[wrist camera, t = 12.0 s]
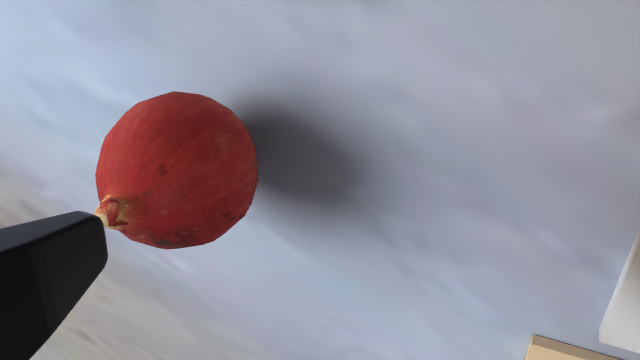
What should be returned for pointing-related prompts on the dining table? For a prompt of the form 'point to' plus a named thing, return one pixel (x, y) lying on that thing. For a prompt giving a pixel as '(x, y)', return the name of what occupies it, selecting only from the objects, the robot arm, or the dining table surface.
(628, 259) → the wooden block with plate
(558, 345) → the cork pad
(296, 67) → the dining table surface
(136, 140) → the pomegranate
